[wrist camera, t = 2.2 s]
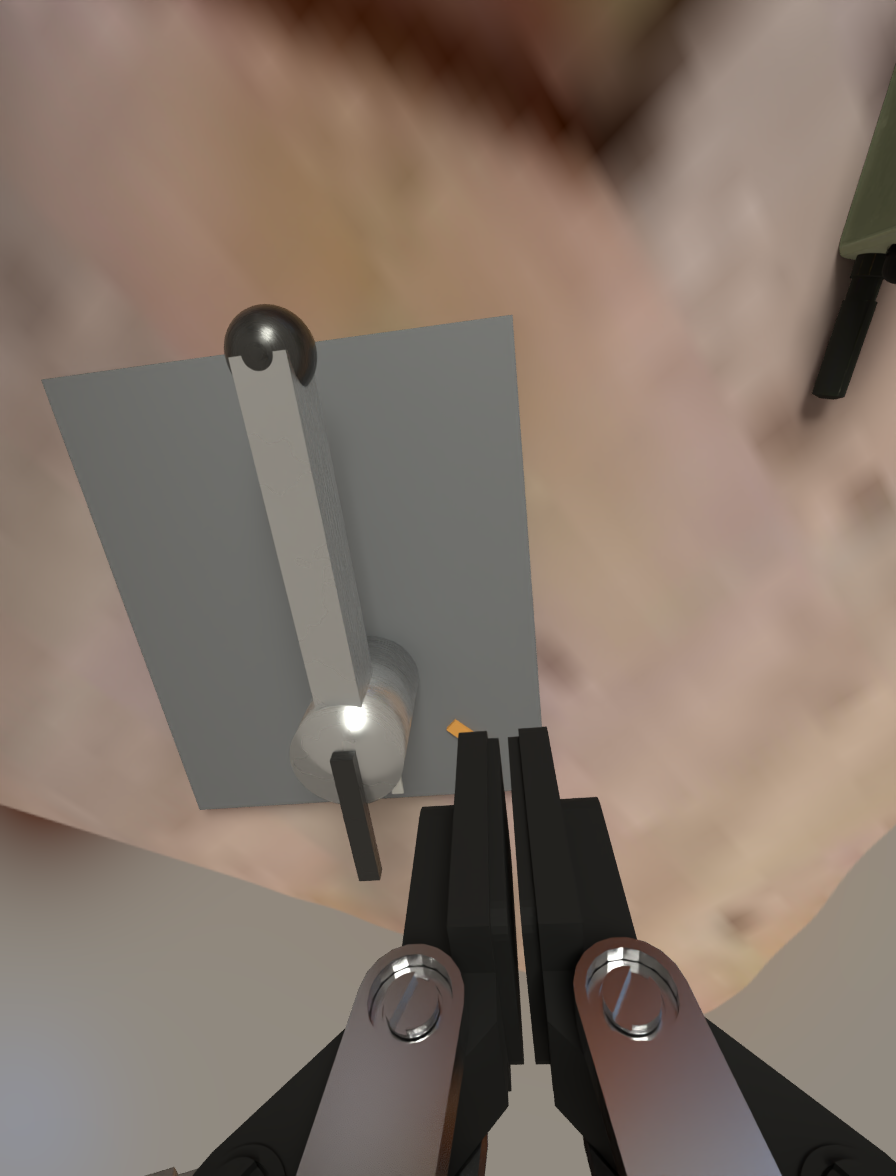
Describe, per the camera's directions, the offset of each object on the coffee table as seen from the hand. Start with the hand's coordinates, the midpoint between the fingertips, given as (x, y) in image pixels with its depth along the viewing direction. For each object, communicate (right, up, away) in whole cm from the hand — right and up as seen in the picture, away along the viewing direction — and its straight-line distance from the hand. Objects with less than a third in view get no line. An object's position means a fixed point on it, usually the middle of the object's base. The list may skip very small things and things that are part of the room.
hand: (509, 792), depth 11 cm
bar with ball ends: (-6, +4, +18) cm, 20 cm away
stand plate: (-8, +3, +21) cm, 22 cm away
